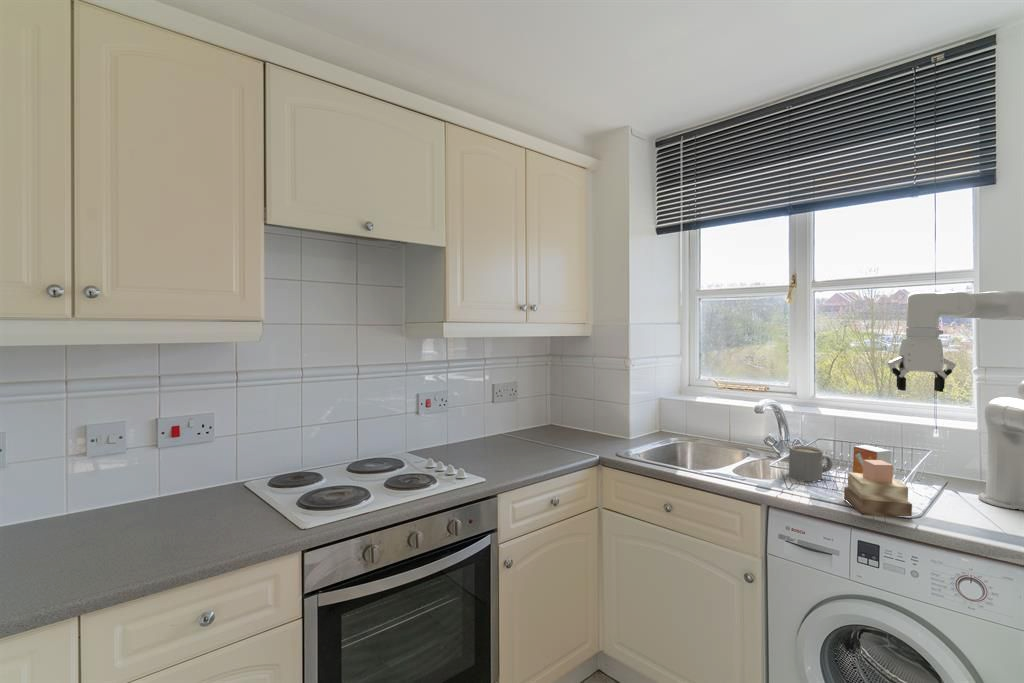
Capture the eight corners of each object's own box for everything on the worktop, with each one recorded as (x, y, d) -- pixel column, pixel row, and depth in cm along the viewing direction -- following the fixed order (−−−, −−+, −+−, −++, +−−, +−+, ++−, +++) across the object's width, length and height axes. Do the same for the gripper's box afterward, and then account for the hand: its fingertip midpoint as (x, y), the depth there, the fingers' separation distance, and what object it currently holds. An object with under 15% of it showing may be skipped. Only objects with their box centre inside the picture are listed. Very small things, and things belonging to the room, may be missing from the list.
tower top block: (890, 490, 149) (891, 475, 149) (907, 503, 139) (908, 487, 138) (847, 487, 152) (848, 472, 152) (861, 499, 142) (861, 483, 142)
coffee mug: (792, 480, 172) (792, 451, 172) (786, 472, 181) (786, 444, 181) (837, 484, 168) (838, 454, 167) (828, 475, 177) (829, 447, 177)
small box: (851, 484, 167) (853, 445, 167) (866, 482, 169) (867, 444, 169) (875, 492, 160) (877, 451, 159) (890, 490, 162) (891, 450, 161)
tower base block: (889, 504, 150) (889, 489, 150) (911, 520, 138) (912, 504, 138) (843, 501, 153) (844, 486, 153) (862, 516, 141) (862, 500, 141)
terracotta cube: (880, 477, 147) (881, 460, 147) (892, 482, 142) (893, 465, 142) (862, 476, 148) (863, 459, 148) (873, 482, 143) (874, 464, 143)
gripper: (947, 333, 153) (945, 390, 154) (882, 333, 157) (881, 388, 157) (964, 334, 146) (961, 393, 146) (895, 333, 149) (893, 391, 150)
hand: (920, 390), depth 152 cm, fingers open, 9 cm apart
